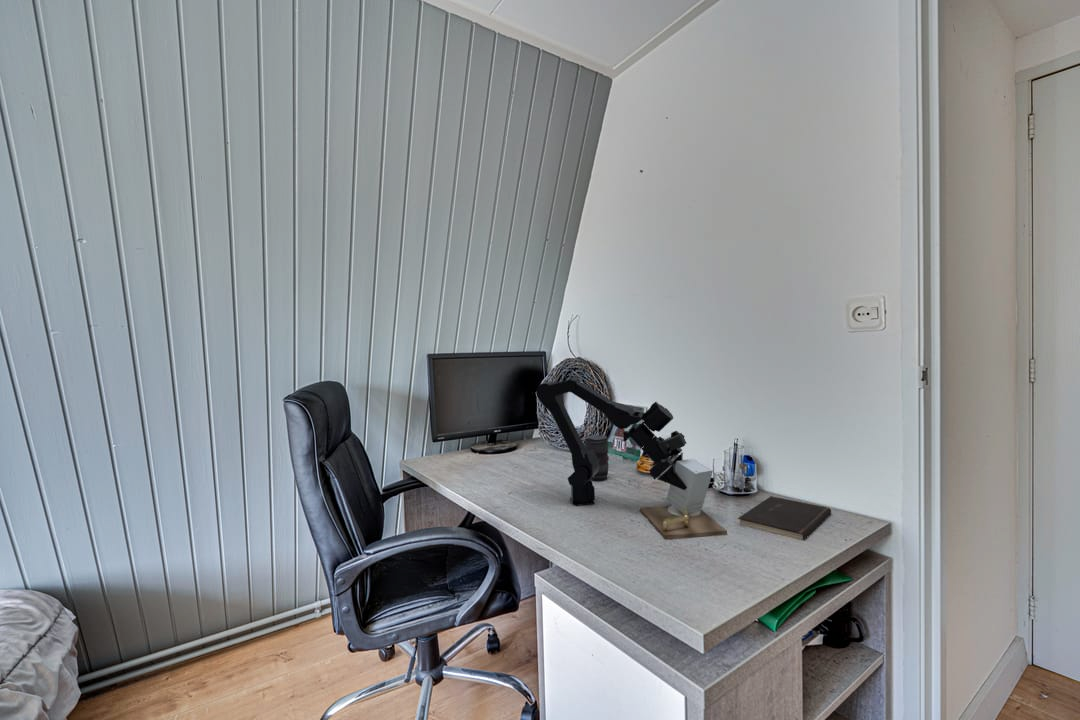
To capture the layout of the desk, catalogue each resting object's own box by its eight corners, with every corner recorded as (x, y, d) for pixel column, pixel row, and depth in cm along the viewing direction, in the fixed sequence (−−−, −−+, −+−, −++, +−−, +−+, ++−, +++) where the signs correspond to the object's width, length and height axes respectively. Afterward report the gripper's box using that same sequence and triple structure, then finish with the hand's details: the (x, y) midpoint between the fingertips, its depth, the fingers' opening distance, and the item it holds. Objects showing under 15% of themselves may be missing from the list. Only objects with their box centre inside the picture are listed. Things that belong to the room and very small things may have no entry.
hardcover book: (738, 526, 130) (737, 517, 129) (770, 503, 146) (770, 496, 146) (803, 543, 118) (803, 533, 118) (831, 516, 134) (831, 508, 134)
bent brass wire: (677, 535, 121) (676, 523, 121) (662, 531, 124) (662, 519, 124) (698, 521, 130) (698, 509, 130) (684, 517, 133) (683, 506, 132)
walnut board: (664, 539, 122) (664, 534, 122) (639, 511, 141) (639, 506, 141) (727, 534, 123) (726, 529, 123) (693, 507, 143) (693, 503, 143)
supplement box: (702, 510, 137) (714, 470, 134) (683, 514, 133) (695, 473, 130) (682, 496, 143) (694, 457, 140) (664, 500, 139) (675, 460, 136)
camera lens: (595, 474, 180) (594, 433, 180) (613, 478, 175) (612, 436, 174) (581, 479, 175) (580, 437, 174) (599, 483, 169) (598, 440, 168)
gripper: (661, 429, 130) (705, 474, 126) (674, 418, 147) (713, 457, 142) (632, 456, 134) (674, 501, 129) (648, 442, 150) (686, 481, 146)
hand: (688, 484), depth 137 cm, fingers closed on supplement box, 9 cm apart
